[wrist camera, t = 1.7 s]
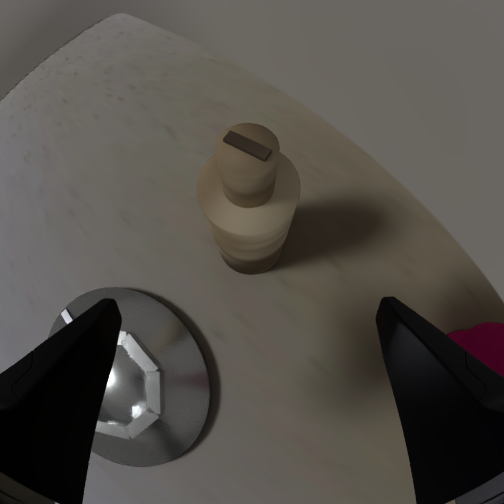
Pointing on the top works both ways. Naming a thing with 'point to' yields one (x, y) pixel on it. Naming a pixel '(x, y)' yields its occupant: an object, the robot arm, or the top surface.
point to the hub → (147, 382)
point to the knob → (249, 197)
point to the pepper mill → (484, 344)
